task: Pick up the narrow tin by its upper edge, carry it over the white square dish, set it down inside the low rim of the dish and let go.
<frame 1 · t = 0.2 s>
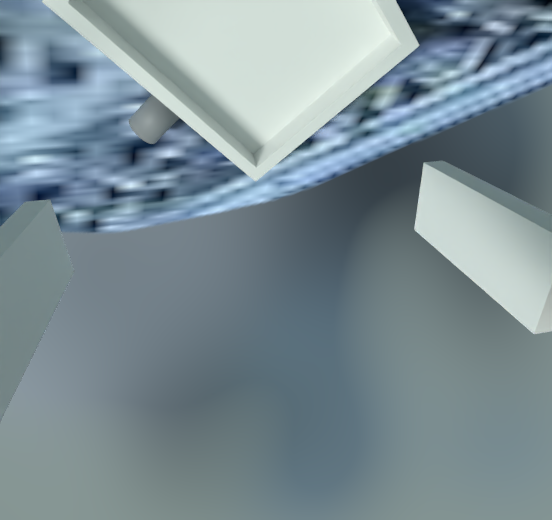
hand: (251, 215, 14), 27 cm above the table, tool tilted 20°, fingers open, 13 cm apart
white square dish: (245, 12, 34), on the table
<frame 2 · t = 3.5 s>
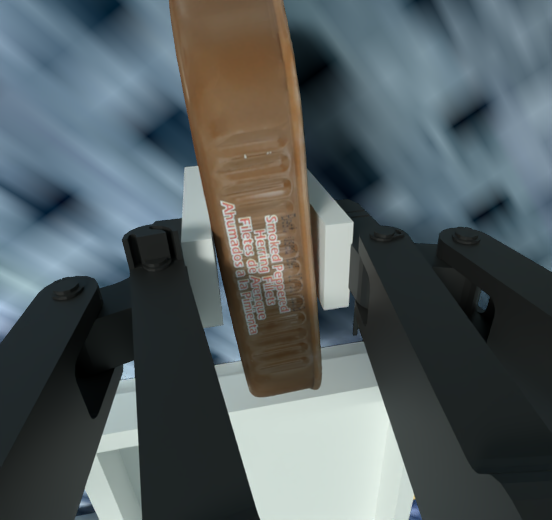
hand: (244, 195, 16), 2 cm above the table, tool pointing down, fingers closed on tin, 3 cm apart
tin: (235, 178, 18), on the table, touching gripper
white square dish: (265, 474, 29), on the table
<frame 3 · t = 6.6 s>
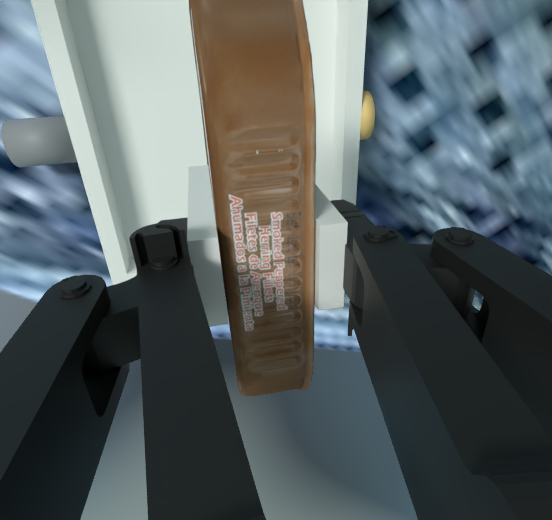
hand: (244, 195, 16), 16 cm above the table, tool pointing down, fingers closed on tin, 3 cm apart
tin: (231, 177, 18), point 14 cm above the table, touching gripper
white square dish: (220, 121, 30), on the table
when the fingers open (3 cm above the table, at t = 9.3 s): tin stays where it is, resting on white square dish.
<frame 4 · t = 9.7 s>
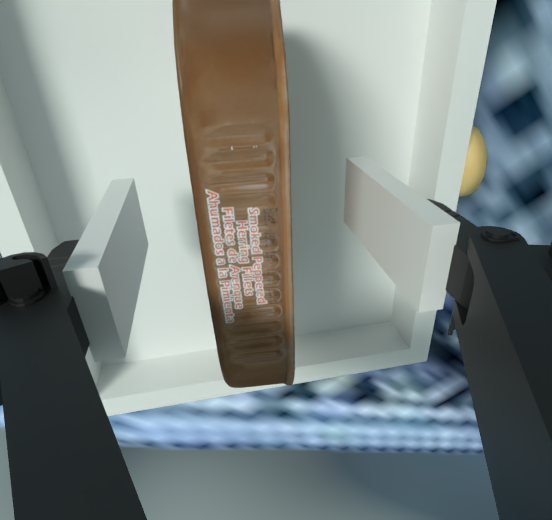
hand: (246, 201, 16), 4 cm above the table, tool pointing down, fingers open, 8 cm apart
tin: (232, 173, 19), point 1 cm above the table, touching white square dish
white square dish: (236, 170, 19), on the table
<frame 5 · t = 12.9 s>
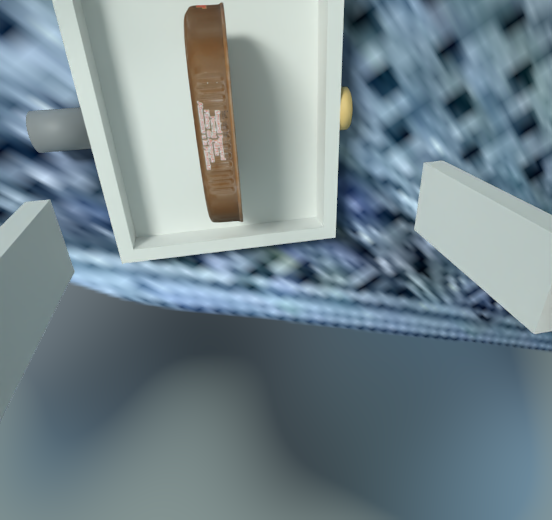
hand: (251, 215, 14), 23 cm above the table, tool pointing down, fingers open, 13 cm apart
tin: (214, 114, 33), point 1 cm above the table, touching white square dish
white square dish: (216, 114, 34), on the table
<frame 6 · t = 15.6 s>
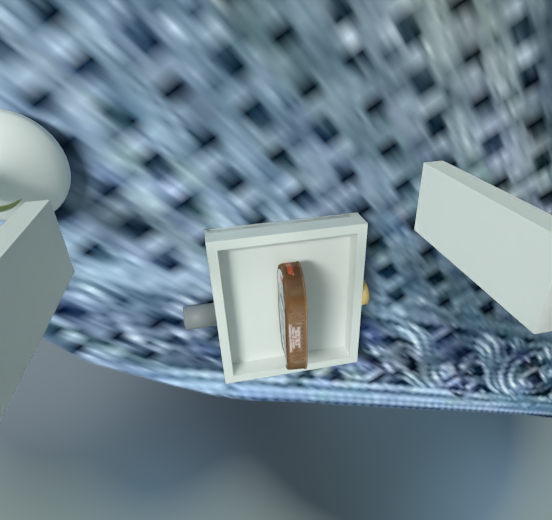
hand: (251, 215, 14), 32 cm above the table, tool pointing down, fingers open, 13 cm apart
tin: (285, 298, 55), point 1 cm above the table, touching white square dish
flower in vase: (23, 162, 42), on the table
white square dish: (285, 295, 55), on the table
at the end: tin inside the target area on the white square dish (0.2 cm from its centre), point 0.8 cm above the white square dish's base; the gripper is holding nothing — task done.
